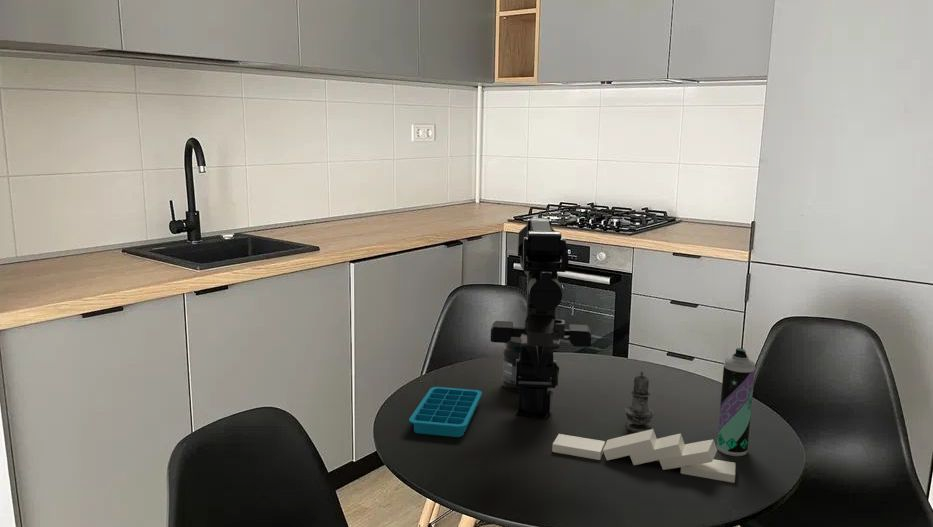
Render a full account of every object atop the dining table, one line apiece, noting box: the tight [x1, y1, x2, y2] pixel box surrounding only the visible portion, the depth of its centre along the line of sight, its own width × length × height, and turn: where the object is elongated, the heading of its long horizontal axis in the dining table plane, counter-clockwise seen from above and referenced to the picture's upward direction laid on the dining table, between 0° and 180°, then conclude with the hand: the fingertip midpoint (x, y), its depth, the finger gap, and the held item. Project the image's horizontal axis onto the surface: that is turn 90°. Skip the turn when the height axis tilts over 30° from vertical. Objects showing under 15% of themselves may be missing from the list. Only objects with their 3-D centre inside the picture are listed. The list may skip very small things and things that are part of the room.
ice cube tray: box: [408, 386, 483, 438], centre depth 151 cm, size 12×20×3 cm, turn 169°
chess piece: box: [624, 371, 655, 433], centre depth 146 cm, size 6×6×12 cm
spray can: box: [716, 347, 756, 457], centre depth 136 cm, size 6×6×20 cm
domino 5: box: [680, 458, 736, 483], centre depth 128 cm, size 2×5×9 cm
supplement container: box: [501, 337, 522, 394], centre depth 168 cm, size 10×10×12 cm
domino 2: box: [603, 428, 658, 461], centre depth 133 cm, size 2×5×9 cm
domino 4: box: [658, 439, 718, 471], centre depth 129 cm, size 2×5×9 cm
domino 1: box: [551, 433, 606, 461], centre depth 136 cm, size 2×5×9 cm
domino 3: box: [629, 433, 685, 466], centre depth 131 cm, size 2×5×9 cm
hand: (539, 376), depth 138 cm, fingers closed
